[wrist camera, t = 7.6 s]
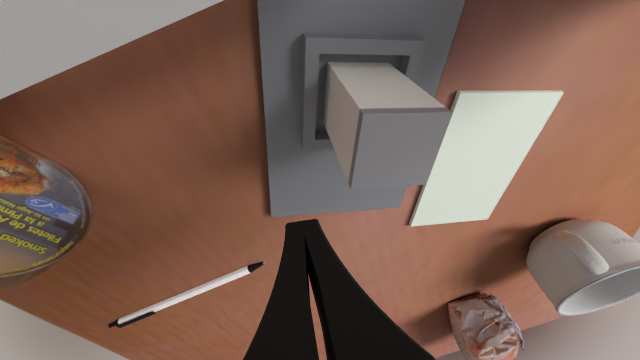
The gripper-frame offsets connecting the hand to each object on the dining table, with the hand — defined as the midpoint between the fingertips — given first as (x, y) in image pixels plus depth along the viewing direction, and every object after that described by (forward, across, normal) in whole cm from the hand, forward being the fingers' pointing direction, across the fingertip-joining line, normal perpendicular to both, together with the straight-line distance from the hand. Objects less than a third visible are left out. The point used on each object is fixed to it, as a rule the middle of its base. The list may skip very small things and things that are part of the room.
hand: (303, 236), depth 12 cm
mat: (+10, -17, +6) cm, 20 cm away
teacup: (+10, -32, +18) cm, 38 cm away
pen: (+10, +13, +18) cm, 24 cm away
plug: (+9, -5, -2) cm, 11 cm away
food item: (+10, -26, +36) cm, 45 cm away
